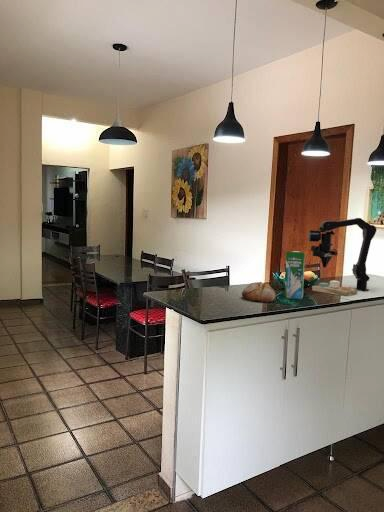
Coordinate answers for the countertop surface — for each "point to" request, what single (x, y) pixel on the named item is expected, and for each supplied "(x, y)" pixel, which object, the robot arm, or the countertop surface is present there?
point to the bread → (259, 292)
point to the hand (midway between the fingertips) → (324, 267)
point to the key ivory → (335, 284)
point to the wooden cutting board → (334, 290)
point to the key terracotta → (345, 288)
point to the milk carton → (294, 275)
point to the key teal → (324, 284)
